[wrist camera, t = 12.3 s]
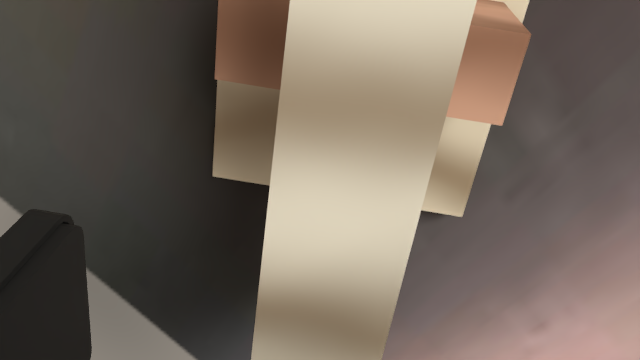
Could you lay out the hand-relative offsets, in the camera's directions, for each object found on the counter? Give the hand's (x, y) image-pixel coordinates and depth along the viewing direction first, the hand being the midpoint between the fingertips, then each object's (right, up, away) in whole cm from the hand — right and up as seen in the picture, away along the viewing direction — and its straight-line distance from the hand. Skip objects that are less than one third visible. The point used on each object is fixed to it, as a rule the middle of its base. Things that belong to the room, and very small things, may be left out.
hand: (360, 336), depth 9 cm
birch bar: (+1, +7, +12) cm, 14 cm away
